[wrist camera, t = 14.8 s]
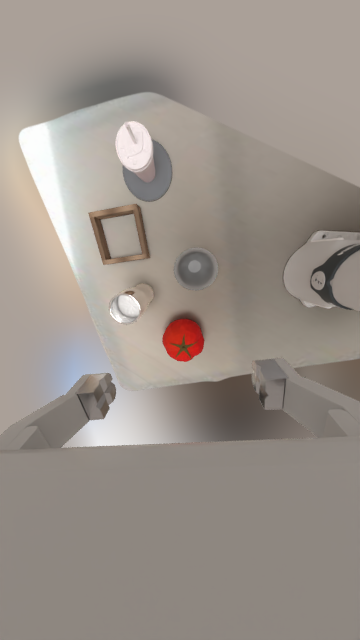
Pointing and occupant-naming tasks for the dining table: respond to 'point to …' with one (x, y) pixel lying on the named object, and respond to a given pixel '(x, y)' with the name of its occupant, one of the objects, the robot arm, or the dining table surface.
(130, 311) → the beer glass
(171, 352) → the tomato
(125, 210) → the wooden serving tray
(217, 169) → the dining table surface
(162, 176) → the disc
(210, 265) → the chalice
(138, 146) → the smoothie
